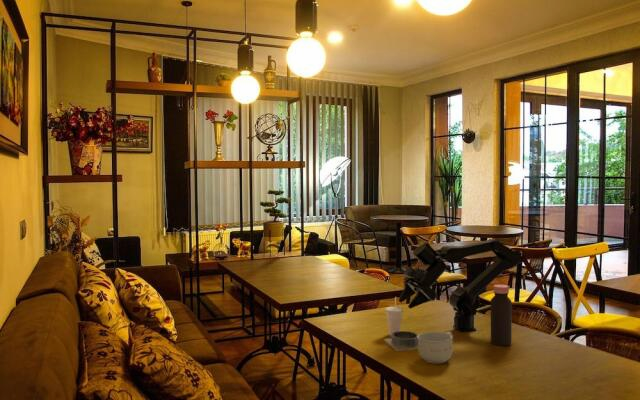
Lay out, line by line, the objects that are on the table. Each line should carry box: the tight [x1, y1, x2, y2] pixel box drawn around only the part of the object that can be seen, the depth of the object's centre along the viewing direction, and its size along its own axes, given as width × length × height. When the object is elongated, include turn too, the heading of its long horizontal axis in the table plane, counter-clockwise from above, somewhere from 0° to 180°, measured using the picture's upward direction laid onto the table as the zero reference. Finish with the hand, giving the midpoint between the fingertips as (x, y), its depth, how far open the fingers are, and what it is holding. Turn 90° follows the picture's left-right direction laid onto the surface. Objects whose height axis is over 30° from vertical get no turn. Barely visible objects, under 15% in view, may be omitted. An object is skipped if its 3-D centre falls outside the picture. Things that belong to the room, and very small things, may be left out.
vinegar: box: [490, 284, 513, 347], centre depth 172 cm, size 7×7×20 cm
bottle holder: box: [383, 330, 419, 352], centre depth 172 cm, size 11×11×3 cm
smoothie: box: [385, 296, 404, 337], centre depth 183 cm, size 6×6×14 cm
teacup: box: [417, 331, 454, 365], centre depth 158 cm, size 14×11×8 cm
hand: (404, 304), depth 183 cm, fingers open, 9 cm apart
